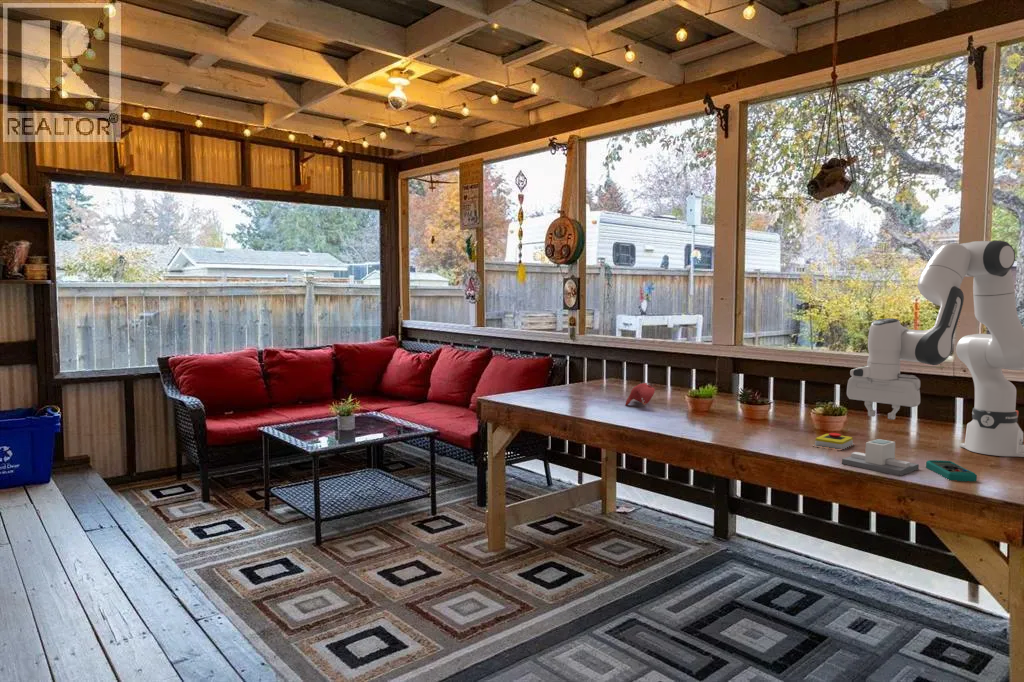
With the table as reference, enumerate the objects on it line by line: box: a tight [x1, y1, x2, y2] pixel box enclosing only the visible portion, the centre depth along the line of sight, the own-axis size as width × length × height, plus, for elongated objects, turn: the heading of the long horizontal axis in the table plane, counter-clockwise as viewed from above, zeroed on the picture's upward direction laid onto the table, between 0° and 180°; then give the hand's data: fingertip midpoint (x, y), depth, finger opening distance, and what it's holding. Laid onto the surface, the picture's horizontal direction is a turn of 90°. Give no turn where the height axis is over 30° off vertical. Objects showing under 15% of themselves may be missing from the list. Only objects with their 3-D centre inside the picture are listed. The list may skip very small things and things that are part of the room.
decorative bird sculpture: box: [624, 382, 656, 406], centre depth 311 cm, size 28×9×15 cm
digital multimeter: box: [925, 459, 978, 482], centre depth 193 cm, size 7×15×3 cm, turn 172°
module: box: [864, 438, 896, 465], centre depth 202 cm, size 8×5×6 cm, turn 126°
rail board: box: [841, 451, 920, 477], centre depth 202 cm, size 12×17×3 cm
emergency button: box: [814, 432, 854, 450], centre depth 230 cm, size 9×4×15 cm
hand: (881, 417), depth 201 cm, fingers open, 4 cm apart
